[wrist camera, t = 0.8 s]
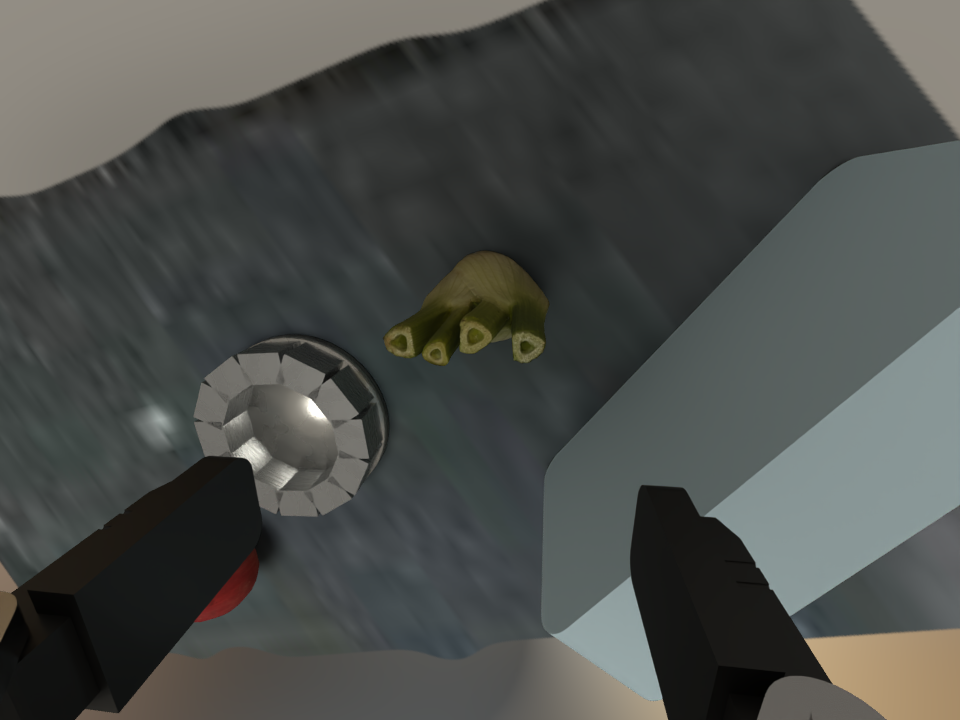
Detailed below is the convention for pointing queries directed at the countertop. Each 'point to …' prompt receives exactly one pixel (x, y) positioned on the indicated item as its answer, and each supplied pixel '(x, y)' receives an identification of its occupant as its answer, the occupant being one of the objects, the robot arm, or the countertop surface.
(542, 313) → the fennel bulb
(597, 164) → the countertop surface
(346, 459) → the white low ring
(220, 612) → the onion
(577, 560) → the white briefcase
